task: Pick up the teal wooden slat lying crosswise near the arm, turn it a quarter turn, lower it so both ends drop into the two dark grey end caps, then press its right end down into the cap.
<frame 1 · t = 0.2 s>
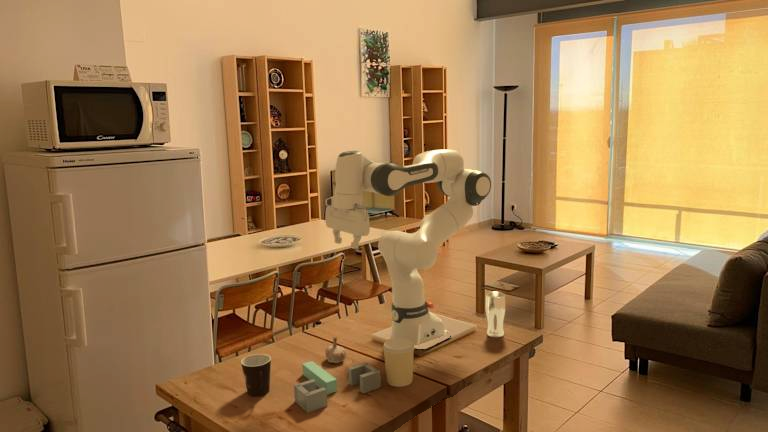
hand: (346, 245, 187), 39 cm above the table, tool pointing down, fingers open, 8 cm apart
slat: (319, 383, 179), on the table
cap a: (364, 385, 176), on the table
beer glass: (495, 334, 211), on the table
coffee cup: (399, 381, 178), on the table
coffee mug: (257, 394, 173), on the table
garlic bulb: (336, 360, 194), on the table
cap b: (311, 403, 166), on the table
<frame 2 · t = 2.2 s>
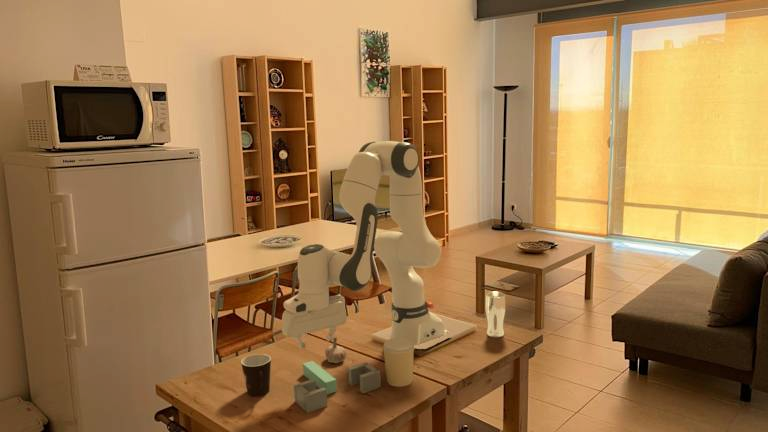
hand: (316, 344, 176), 13 cm above the table, tool pointing down, fingers open, 8 cm apart
nothing on the table moved.
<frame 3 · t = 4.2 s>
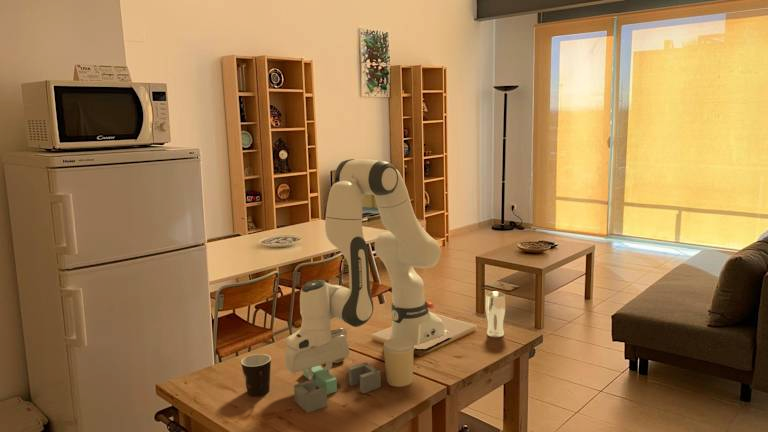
hand: (319, 377, 178), 2 cm above the table, tool pointing down, fingers closed on slat, 3 cm apart
slat: (319, 383, 179), on the table, touching gripper
everything else where it was.
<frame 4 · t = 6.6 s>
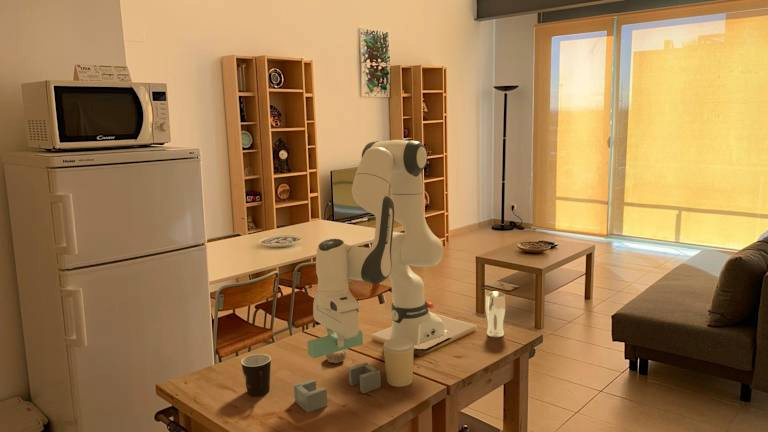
hand: (335, 343, 168), 16 cm above the table, tool pointing down, fingers closed on slat, 3 cm apart
slat: (335, 349, 168), point 14 cm above the table, touching gripper
everything else where it was.
when the fingers open (3 cm above the table, at t = 8.8 s): slat drops 1 cm, on the table.
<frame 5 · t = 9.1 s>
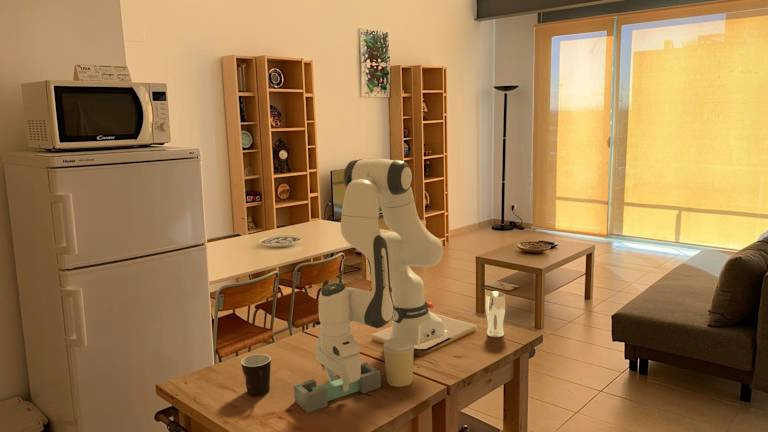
hand: (338, 385, 170), 3 cm above the table, tool pointing down, fingers open, 6 cm apart
slat: (338, 395, 171), on the table
everything else where it was.
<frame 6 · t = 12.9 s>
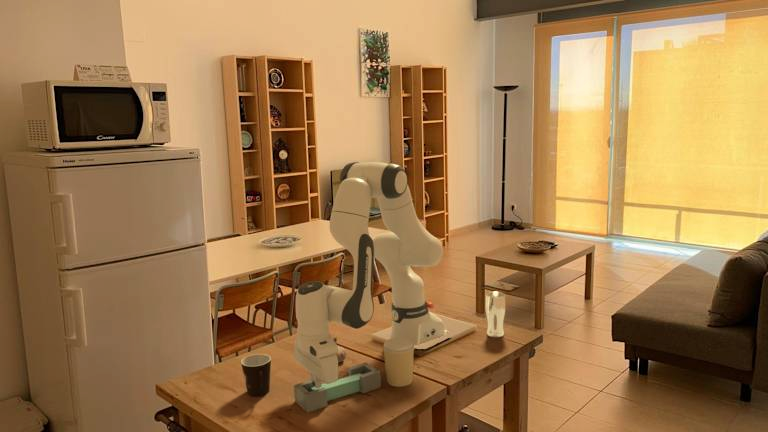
hand: (316, 386, 166), 5 cm above the table, tool pointing down, fingers closed
nothing on the table moved.
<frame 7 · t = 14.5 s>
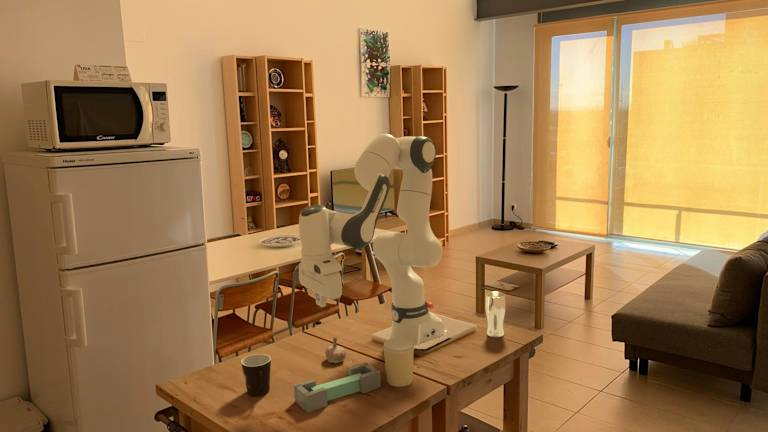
hand: (321, 305, 175), 24 cm above the table, tool pointing down, fingers closed
nothing on the table moved.
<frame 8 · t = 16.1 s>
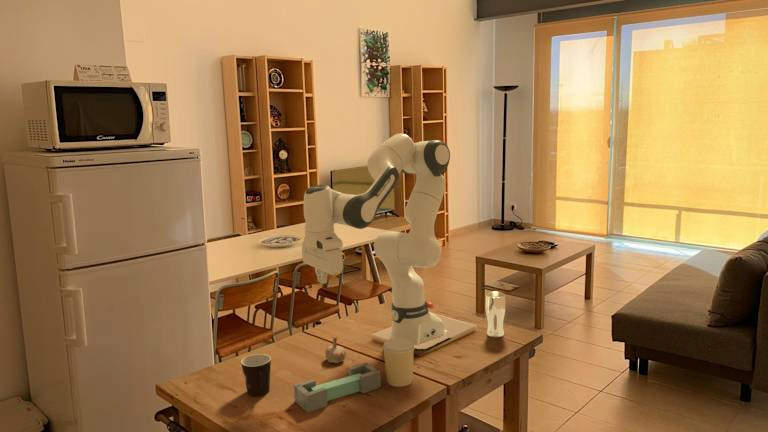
hand: (322, 282, 181), 29 cm above the table, tool pointing down, fingers closed
nothing on the table moved.
at the end: slat 0.1 cm from the target spot, on the table; slat tilted 0°; the gripper is holding nothing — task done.
